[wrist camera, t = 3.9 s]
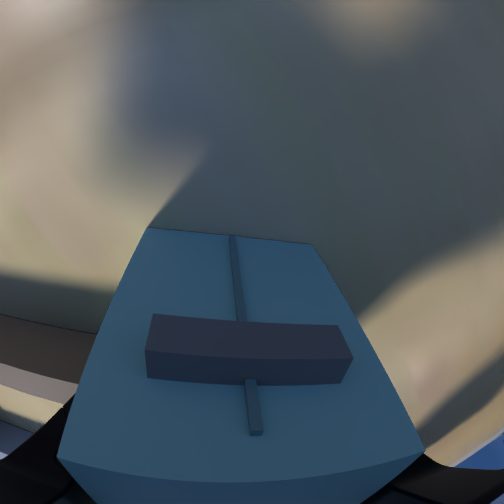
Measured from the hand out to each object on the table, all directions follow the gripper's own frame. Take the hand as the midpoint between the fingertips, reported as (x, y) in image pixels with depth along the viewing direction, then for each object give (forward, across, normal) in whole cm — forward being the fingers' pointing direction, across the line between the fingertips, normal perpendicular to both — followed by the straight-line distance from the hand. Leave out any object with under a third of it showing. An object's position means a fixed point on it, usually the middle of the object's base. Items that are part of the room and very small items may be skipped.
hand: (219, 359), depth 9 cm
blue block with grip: (+2, 0, 0) cm, 2 cm away
